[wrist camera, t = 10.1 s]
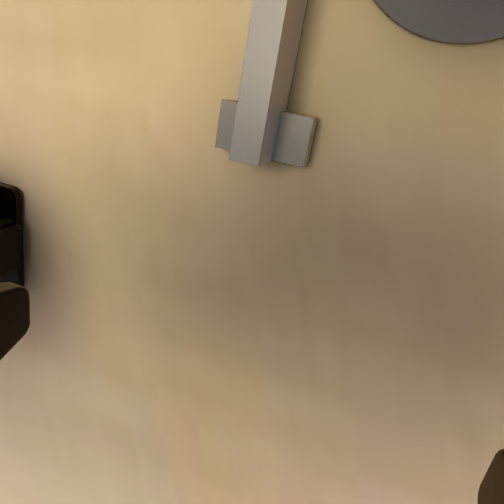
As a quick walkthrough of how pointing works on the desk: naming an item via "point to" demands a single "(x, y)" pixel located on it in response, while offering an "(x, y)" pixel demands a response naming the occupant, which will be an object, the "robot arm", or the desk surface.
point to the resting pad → (448, 19)
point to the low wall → (268, 91)
